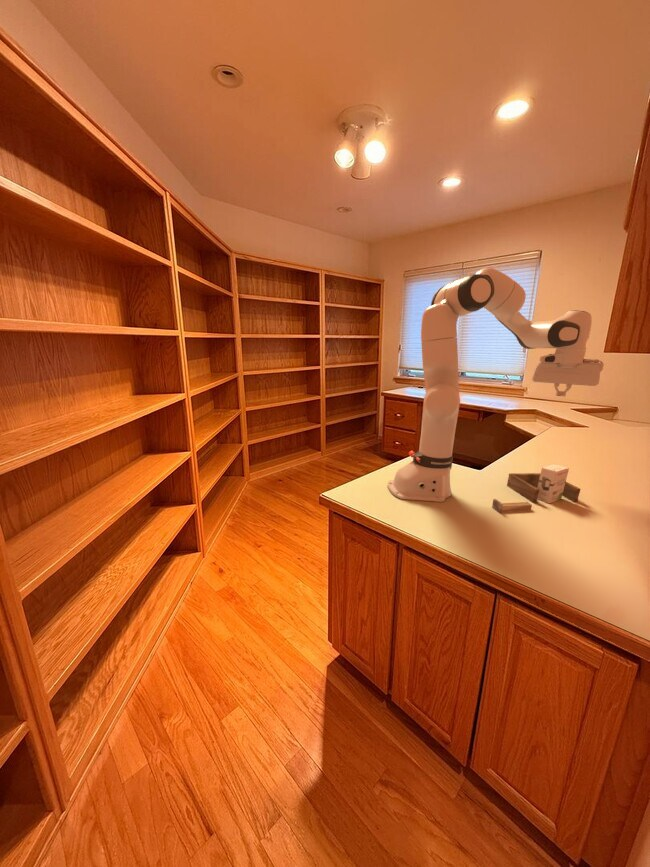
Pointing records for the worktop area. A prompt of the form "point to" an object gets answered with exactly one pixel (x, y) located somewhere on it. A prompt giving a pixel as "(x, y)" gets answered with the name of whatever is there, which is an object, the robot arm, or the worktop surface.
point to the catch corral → (529, 482)
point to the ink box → (552, 483)
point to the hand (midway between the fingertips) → (560, 396)
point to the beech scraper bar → (510, 506)
